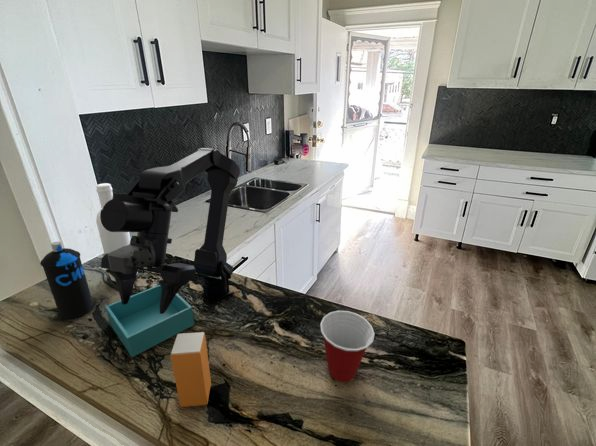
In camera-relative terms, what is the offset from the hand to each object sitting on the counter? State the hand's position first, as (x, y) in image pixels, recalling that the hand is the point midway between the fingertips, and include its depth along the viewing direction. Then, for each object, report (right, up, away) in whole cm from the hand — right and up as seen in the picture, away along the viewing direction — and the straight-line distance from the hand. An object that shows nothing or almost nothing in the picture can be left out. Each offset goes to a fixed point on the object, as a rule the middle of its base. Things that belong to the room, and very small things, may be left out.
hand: (143, 308), depth 63 cm
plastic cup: (+41, -15, +4) cm, 44 cm away
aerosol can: (-28, -6, +21) cm, 36 cm away
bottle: (-24, 0, +37) cm, 44 cm away
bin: (-6, -8, +16) cm, 19 cm away
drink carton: (+11, -16, -2) cm, 20 cm away
